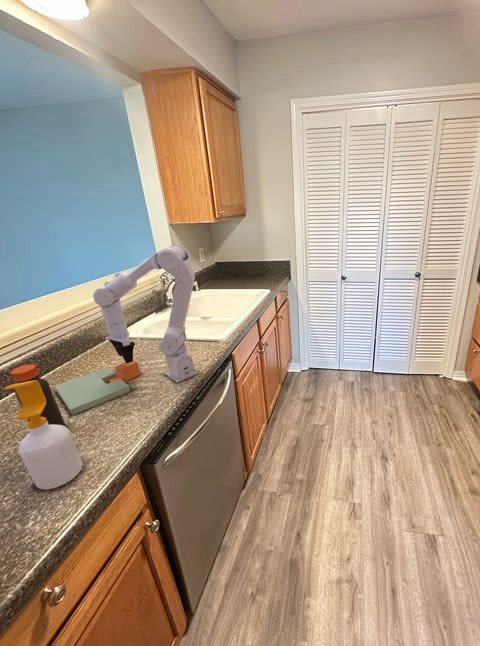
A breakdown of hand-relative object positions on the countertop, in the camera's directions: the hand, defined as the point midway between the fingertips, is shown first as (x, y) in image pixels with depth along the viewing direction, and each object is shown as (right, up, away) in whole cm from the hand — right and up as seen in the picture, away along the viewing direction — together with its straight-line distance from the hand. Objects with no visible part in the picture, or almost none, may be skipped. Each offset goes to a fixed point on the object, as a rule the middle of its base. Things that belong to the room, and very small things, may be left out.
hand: (126, 358), depth 112 cm
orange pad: (-1, -7, +1) cm, 7 cm away
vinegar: (-7, -19, -24) cm, 31 cm away
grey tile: (-8, -10, -5) cm, 14 cm away
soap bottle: (+5, -24, -38) cm, 45 cm away
